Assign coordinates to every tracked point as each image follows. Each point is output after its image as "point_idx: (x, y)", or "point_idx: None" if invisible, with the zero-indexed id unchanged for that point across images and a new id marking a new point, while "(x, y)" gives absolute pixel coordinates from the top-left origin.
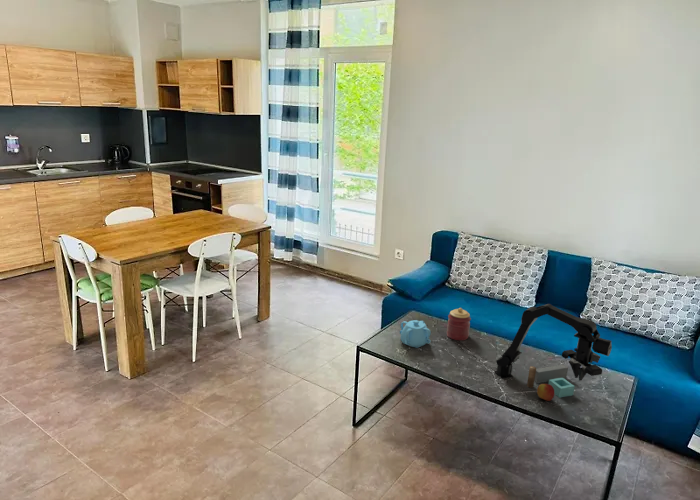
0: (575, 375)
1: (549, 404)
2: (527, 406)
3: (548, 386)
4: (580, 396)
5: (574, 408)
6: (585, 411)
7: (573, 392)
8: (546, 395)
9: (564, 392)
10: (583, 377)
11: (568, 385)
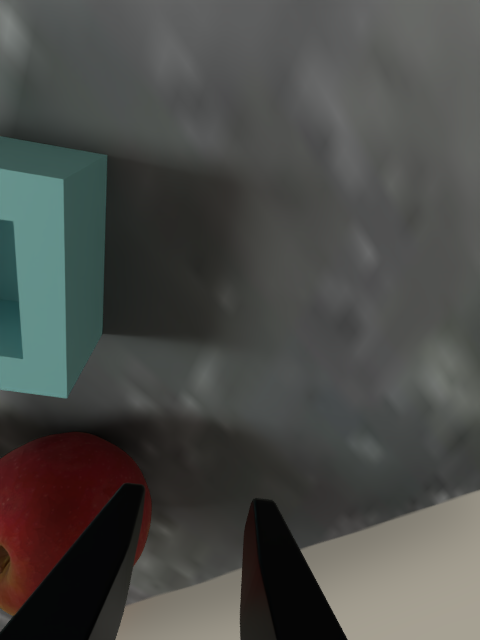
0: (123, 603)
1: (159, 469)
2: None
3: None
4: (162, 86)
5: (294, 350)
6: (381, 301)
7: (95, 160)
8: None
9: (87, 308)
10: (318, 589)
11: (22, 254)
